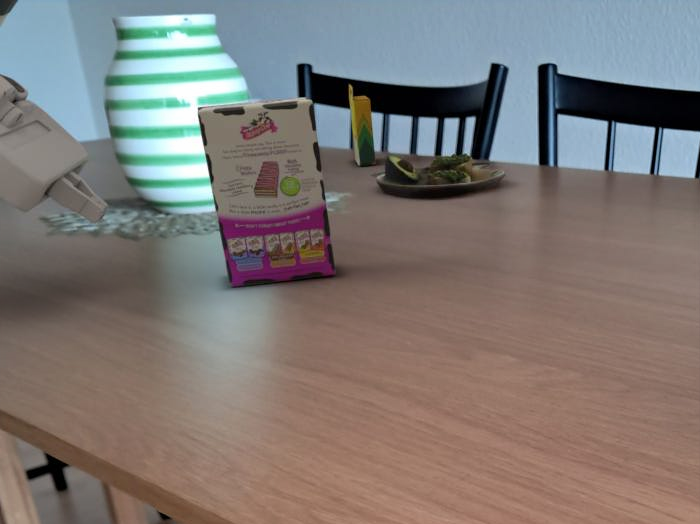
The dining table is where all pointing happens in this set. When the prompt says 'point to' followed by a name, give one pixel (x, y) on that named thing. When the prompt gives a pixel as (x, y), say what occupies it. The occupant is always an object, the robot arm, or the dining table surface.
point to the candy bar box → (268, 190)
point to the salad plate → (436, 177)
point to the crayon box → (362, 129)
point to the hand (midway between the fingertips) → (102, 216)
